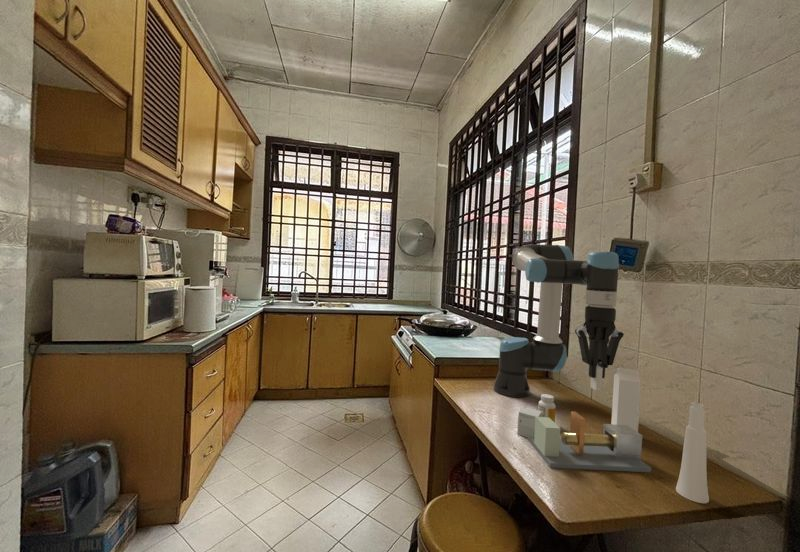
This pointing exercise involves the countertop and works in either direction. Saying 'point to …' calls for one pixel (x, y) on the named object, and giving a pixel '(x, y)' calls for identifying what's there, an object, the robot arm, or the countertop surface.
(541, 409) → the supplement bottle
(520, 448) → the countertop surface
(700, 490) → the cosmetic bottle
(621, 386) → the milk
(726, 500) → the countertop surface
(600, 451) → the board
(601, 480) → the countertop surface
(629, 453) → the grey cube end cap
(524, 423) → the product box
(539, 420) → the socket
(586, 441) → the tube
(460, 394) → the countertop surface
